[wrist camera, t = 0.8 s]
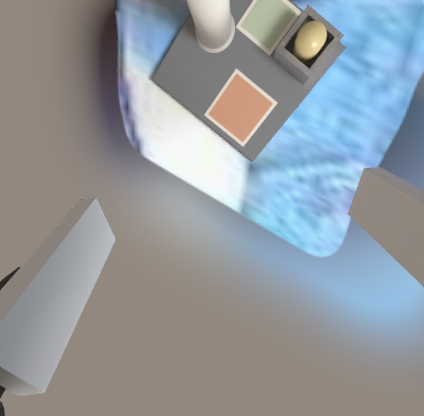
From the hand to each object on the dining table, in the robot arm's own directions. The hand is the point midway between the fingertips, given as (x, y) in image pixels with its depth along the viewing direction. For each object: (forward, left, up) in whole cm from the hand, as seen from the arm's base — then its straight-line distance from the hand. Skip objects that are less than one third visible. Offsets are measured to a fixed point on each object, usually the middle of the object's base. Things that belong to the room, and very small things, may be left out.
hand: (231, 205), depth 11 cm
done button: (-16, -3, -16) cm, 23 cm away
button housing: (-16, -3, -18) cm, 24 cm away
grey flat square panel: (-11, -8, -19) cm, 24 cm away
